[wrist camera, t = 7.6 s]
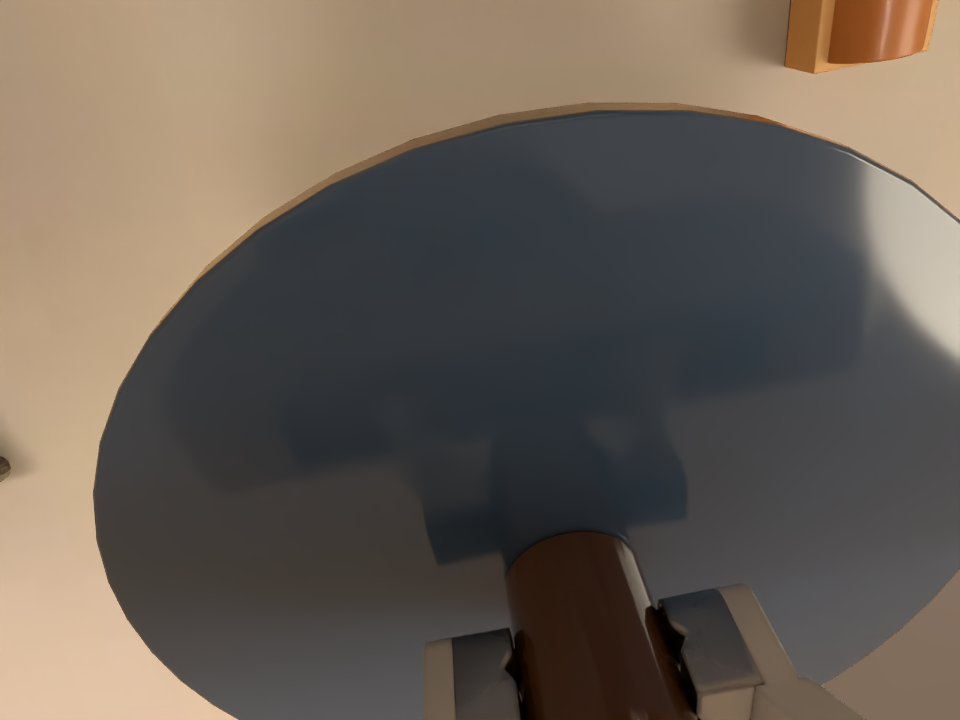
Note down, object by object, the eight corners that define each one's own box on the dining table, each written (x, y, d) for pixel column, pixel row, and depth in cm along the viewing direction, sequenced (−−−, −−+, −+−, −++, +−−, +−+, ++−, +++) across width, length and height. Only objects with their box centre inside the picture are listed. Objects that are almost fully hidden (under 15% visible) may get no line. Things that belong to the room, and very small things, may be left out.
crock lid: (-115, 231, 8) (-618, 477, 4) (1139, -31, 8) (1897, -31, 4) (304, 771, 17) (271, 1005, 13) (882, 667, 17) (1021, 878, 13)
